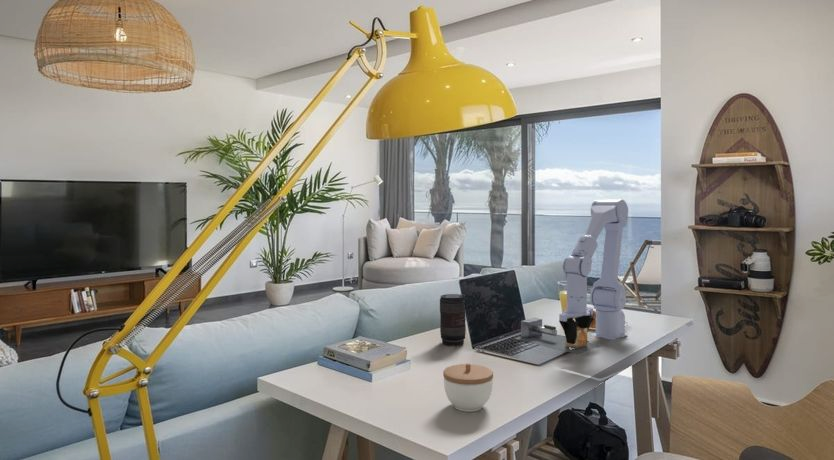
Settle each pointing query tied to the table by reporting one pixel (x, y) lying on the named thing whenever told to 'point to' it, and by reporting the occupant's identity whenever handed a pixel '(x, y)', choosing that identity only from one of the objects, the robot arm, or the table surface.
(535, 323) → the shaft assembly
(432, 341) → the table surface
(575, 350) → the mat
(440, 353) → the table surface
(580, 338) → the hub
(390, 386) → the table surface
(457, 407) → the lidded jar
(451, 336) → the camera lens
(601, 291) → the robot arm
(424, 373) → the table surface
